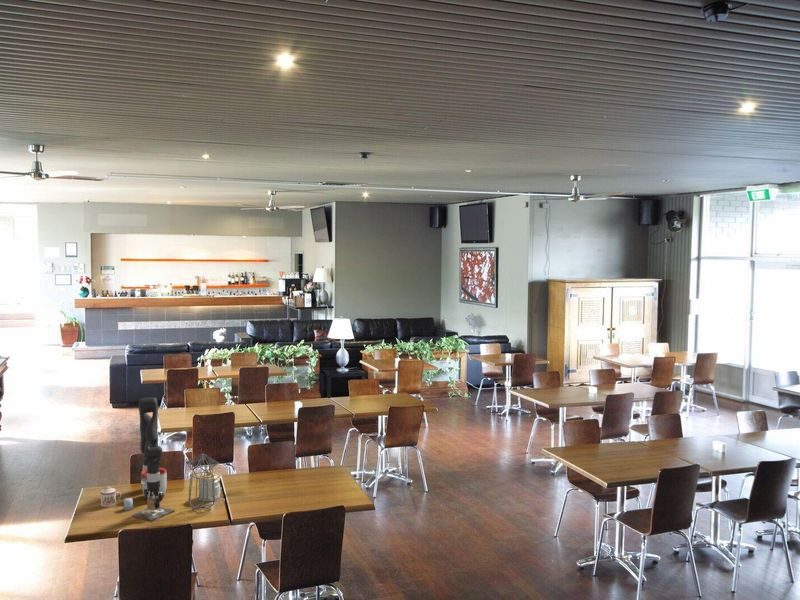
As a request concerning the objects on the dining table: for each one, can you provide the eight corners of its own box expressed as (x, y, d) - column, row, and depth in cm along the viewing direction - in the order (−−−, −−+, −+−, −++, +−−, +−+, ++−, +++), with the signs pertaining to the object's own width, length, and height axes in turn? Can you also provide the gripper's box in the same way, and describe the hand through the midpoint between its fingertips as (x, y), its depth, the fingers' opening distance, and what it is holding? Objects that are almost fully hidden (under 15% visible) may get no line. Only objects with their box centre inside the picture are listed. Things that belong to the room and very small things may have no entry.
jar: (214, 502, 460) (214, 475, 458) (195, 500, 462) (194, 473, 461) (223, 495, 473) (223, 469, 471) (204, 493, 475) (204, 467, 474)
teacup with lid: (101, 508, 446) (101, 490, 445) (99, 503, 454) (99, 485, 453) (122, 505, 452) (122, 487, 451) (120, 500, 460) (119, 482, 459)
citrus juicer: (133, 499, 463) (133, 468, 461) (154, 491, 478) (154, 461, 476) (151, 504, 455) (151, 472, 454) (172, 495, 471) (172, 465, 469)
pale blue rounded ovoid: (128, 507, 450) (128, 497, 449) (134, 508, 447) (134, 499, 447) (122, 509, 445) (122, 500, 445) (128, 511, 443) (128, 501, 442)
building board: (155, 506, 451) (155, 503, 451) (174, 511, 444) (174, 508, 444) (132, 516, 435) (132, 513, 435) (152, 521, 428) (152, 518, 428)
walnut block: (153, 506, 442) (153, 496, 442) (159, 507, 440) (159, 498, 440) (147, 509, 438) (147, 499, 437) (153, 510, 436) (153, 500, 435)
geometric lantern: (183, 509, 447) (184, 453, 445) (206, 504, 458) (207, 449, 456) (196, 516, 436) (197, 458, 434) (220, 510, 447) (220, 454, 445)
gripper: (166, 479, 438) (167, 507, 439) (149, 475, 444) (149, 503, 446) (157, 483, 431) (157, 511, 432) (139, 479, 438) (140, 507, 439)
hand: (153, 507), depth 439 cm, fingers closed on walnut block, 5 cm apart
